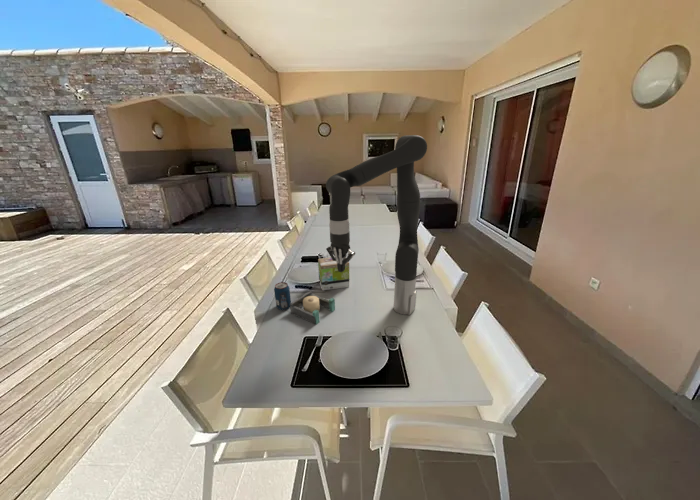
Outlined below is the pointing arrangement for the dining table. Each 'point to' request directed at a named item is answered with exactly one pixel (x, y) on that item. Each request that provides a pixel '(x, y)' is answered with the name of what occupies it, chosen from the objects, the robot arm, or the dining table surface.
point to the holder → (314, 317)
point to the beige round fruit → (311, 304)
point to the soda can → (282, 296)
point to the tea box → (332, 274)
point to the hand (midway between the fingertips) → (341, 271)
